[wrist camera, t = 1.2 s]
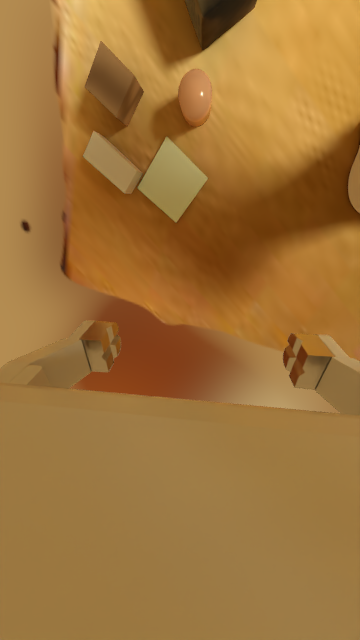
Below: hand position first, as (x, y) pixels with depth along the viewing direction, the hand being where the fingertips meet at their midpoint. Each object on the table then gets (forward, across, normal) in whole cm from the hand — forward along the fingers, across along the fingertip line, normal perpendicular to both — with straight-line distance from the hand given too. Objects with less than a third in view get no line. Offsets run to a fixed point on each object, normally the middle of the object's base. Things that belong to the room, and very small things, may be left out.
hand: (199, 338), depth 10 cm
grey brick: (+36, +16, -10) cm, 40 cm away
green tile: (+36, +6, -8) cm, 37 cm away
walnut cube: (+36, +14, -19) cm, 43 cm away
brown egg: (+36, +2, -17) cm, 40 cm away
